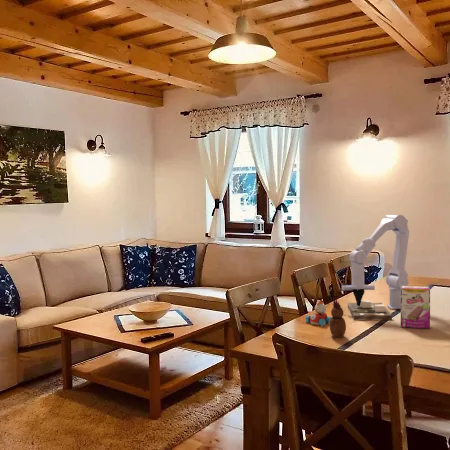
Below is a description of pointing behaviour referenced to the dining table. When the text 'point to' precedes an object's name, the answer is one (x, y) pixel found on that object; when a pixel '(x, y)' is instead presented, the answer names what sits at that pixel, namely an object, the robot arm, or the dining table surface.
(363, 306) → the tab
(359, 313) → the switch panel
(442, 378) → the dining table surface
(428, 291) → the candy bar box
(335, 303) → the wooden figurine
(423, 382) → the dining table surface
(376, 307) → the tab
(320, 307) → the toy car
